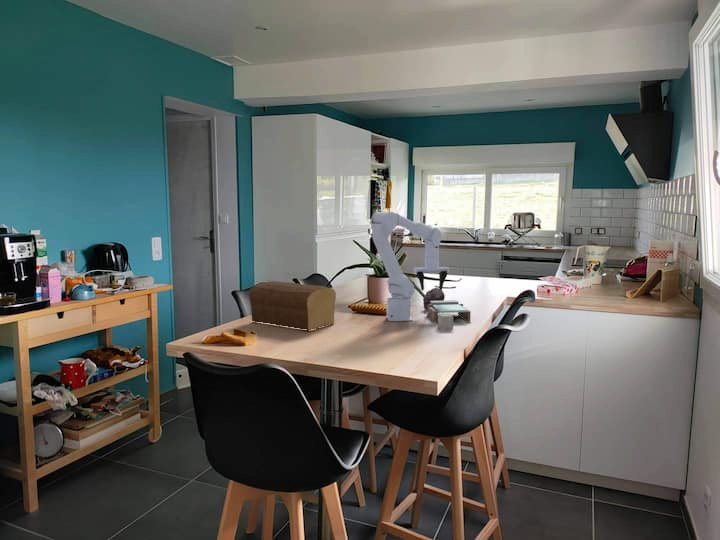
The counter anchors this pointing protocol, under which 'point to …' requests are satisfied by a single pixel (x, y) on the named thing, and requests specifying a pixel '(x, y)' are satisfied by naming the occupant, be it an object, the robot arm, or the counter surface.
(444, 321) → the grey block
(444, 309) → the trapdoor
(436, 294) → the rock
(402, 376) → the counter surface
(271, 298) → the bread
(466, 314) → the frame
